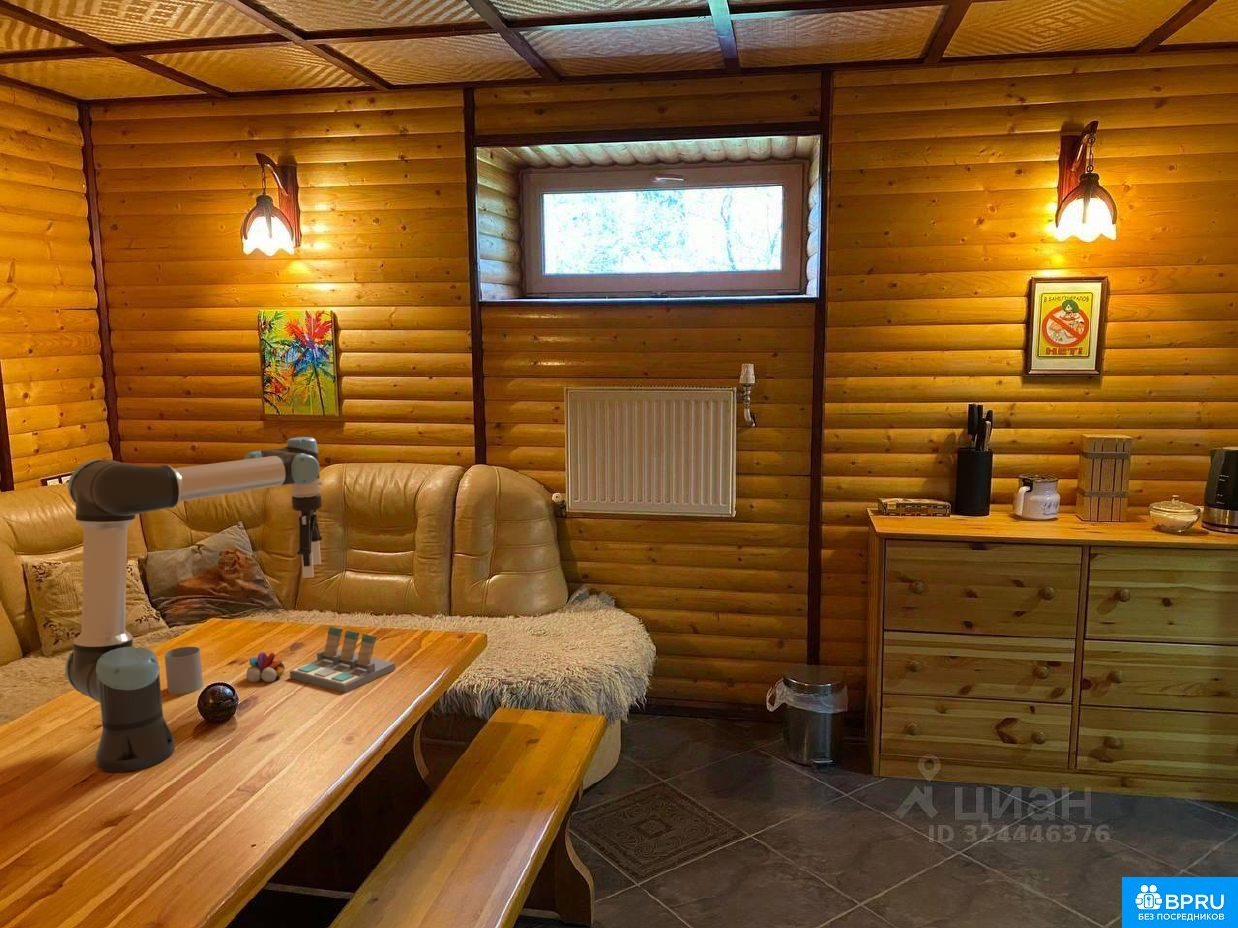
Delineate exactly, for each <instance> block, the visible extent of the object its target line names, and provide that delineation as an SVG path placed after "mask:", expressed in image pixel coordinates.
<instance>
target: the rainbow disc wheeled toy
mask: <svg viewBox="0 0 1238 928" xmlns="http://www.w3.org/2000/svg"><path fill="white" fill-rule="evenodd" d="M275 656H276V653H274V652H270V653H269V654H268V655H267V653H266V652H265V651H260V652H259V653H258V655H257V657H256V656H254V657H250V658H249V665H250V667H248V668H247V669H246V678H247V680H248V681H249V682H251V683H258V682H259V681H261V679H262V680H263V681H264V682H265V683H272V682H275V680H276V679H277V677H280V676H282V675H284V673H285V670H286V665H285V663H284V662H283V659H281V658H280V659H277V660H275V658H276V657H275Z"/></svg>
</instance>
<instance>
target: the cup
mask: <svg viewBox="0 0 1238 928" xmlns="http://www.w3.org/2000/svg"><path fill="white" fill-rule="evenodd" d="M164 663H165V674H166V677H165V678H166V685H167V692H168V694H170V695H175V696H176V695H177V696H181V695H188V694H190V693H191V694H192V693H196V692H197V691H199V690H201V689H202V688H203V687H204V679H203V670H202V658H201V648H200V647H198V646H181V647H177V648H173V649H170V650H168V651H166V652H165V653H164Z"/></svg>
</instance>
